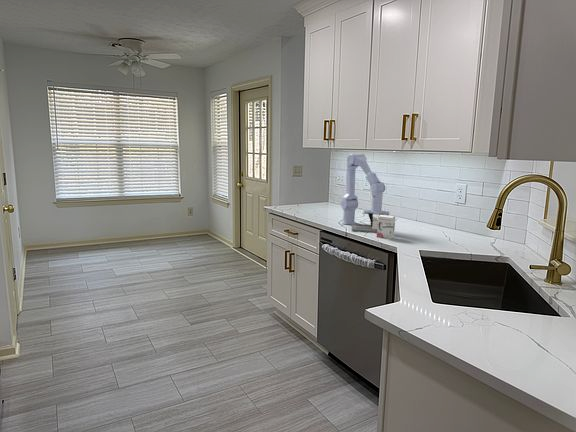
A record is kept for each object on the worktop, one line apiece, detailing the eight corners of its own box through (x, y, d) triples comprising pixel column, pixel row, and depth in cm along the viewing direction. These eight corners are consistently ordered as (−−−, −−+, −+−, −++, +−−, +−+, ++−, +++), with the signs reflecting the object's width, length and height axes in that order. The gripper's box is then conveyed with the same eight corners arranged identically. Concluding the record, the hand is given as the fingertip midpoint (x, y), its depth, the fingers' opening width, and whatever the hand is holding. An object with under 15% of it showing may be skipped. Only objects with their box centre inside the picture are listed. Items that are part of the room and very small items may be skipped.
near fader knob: (371, 227, 239) (372, 218, 238) (377, 227, 239) (378, 219, 238) (372, 229, 234) (372, 220, 233) (378, 229, 234) (379, 220, 233)
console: (351, 225, 251) (351, 223, 250) (383, 227, 248) (383, 225, 248) (351, 231, 234) (352, 229, 234) (385, 233, 231) (385, 231, 231)
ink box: (376, 237, 222) (377, 215, 220) (378, 235, 226) (380, 214, 224) (392, 239, 218) (393, 217, 216) (394, 237, 222) (396, 216, 220)
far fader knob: (370, 224, 248) (371, 216, 247) (376, 224, 247) (376, 216, 246) (370, 226, 243) (371, 217, 242) (376, 226, 243) (377, 218, 242)
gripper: (364, 204, 231) (362, 227, 233) (390, 205, 229) (388, 228, 231) (363, 202, 238) (362, 224, 240) (389, 203, 236) (387, 226, 238)
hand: (375, 226), depth 236 cm, fingers closed on near fader knob, 3 cm apart
